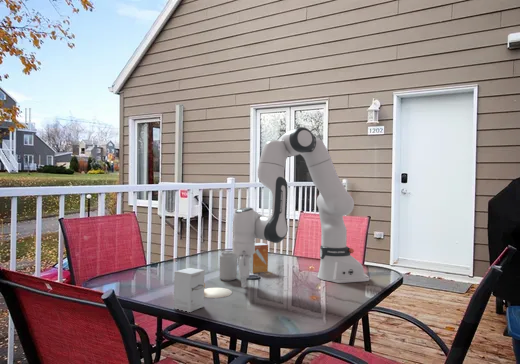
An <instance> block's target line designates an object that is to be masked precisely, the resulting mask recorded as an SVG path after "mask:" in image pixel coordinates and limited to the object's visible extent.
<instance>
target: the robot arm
mask: <svg viewBox="0 0 520 364" xmlns="http://www.w3.org/2000/svg"><path fill="white" fill-rule="evenodd" d="M314 135H315V134H313V132H312V131H311V130H310V129H308V128H307V127H305V126H304V127H303V126H298V127H296V128H293V129H290V130H287V131H286V132H285V133H283V134H281V135H280V136H279V137H278V138H277V139H272V140H271V139H270V140H268V141H267V142H265V143H264V146H263V148H262V151H261V154H260V157H259V161H258V166H257V178H258V180H259V182H260V183H261V184H262V185H263V186H265V188H268V189H269V191H271V194H272V207H271V208H272V209H271V215H270V216H269V215H262V214H260V213H259V212H256V211H255V210H254V208H252V207H242V208H238V209H237V210H235V211H234V213H233V219H232V232H233V233H232V234H233V239H232V251H233V254H236V258H237V268H238V272H239V273H238V275H239V278H240V281H241V284H240V286H241V289H242V288H247V280H248V279H249V278H250V272H249V258H251V257H252V256H251V255H252V254H254V253H255V243H256V239H259V240H263V241H268V242H270V243H272V244H273V243H274V244H279V243H281V242H282V241H283V240H284V239H285V238H286V236H287V235H288V231H289V228H288V221H287V219H288V217H287V215H288V212H287V211H288V193H289V192H288V190H289V189H288V182H287V180H286V178H285V169H286V168H285V167H286V163H287V162H286V161H287V159H288V158H291V157H296V156H299V155H300V156H301V157H302V158H303V160H304V161H305V165H306V167H307V169H308V172H309V175H310V178H311V180H312V183H313V184H314V186H315V187H316V188H317V190H318V191H319V194H318V195H317V197H316V207H317V208H318V214H319V220H320V227H321V228H320V229H321V235H320V236H321V245H320V248H319V257H320V261H319V264H320V265H319V269H318V273H317V278H318V279H320V280H324V281H326V282H327V281H328V282H333V283H336V284H337V283H338V284H345V283H346V284H347V283H359V282H369V281H370V277H369V276H368V275H367V274H366V273H365V270H364V266H363V264H362V263H361V262H360V261H358V260H357V259H356V258H355V257H354V256H353V255H351V254H354V248H351V247H348V246H347V239H348V238H347V237H348V235H347V230H348V229H347V226H346V225H345V222H344V217H345V216H347V215H349V214H351V213H352V212H353V210H354V208H355V201H354V198H353V197H352V196H351V194H350V193H349V192H348V191H347V189H346V187H345V185H344V184H343V182H342V181H341V179H340V177H339V175H338V173H337V171H336V168H335V166H334V162H333V161H332V157H331V155H330V153H329V152H330V151H328V149H327V146H326V145H325V143H324V142H323V140H322V139H320V138H318V137H315V136H314Z"/></svg>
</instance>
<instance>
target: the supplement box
mask: <svg viewBox="0 0 520 364" xmlns="http://www.w3.org/2000/svg"><path fill="white" fill-rule="evenodd" d="M205 273H206V272H205V270H204V269H201V268H193V267H187V268H184V269H179V270H175V271H174V278H173V279H174V280H173V281H174V282H173V283H174V285H173V286H174V287H173V293H174V294H173V309H174V308H175V310H177V309H179V311H181V310H183V311H182V312H185V311H187V312H186V313H189V312H190V313H191V312H193V311H196V310H198V309H200V308H201V309H202V308H204V307H205V297H204V289H205V288H204V283H205Z"/></svg>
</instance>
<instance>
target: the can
mask: <svg viewBox="0 0 520 364" xmlns="http://www.w3.org/2000/svg"><path fill="white" fill-rule="evenodd" d="M237 269H238V259H237V258H236V254H233V250H224V251H221V252H220V254H219V278H220V279H221V281H224V282H225V281H226V282H227V281H229V282H230V281H234V280H235V279H236V278H237V277H238V275H237V274H238V270H237Z"/></svg>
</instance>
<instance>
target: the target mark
mask: <svg viewBox="0 0 520 364" xmlns="http://www.w3.org/2000/svg"><path fill="white" fill-rule="evenodd" d="M232 294H233V292H232V290H231V289H229V288H225V287H208V288H204V298H206V299H207V298H208V299H220V298H226V297H228V296H231V295H232Z"/></svg>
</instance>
